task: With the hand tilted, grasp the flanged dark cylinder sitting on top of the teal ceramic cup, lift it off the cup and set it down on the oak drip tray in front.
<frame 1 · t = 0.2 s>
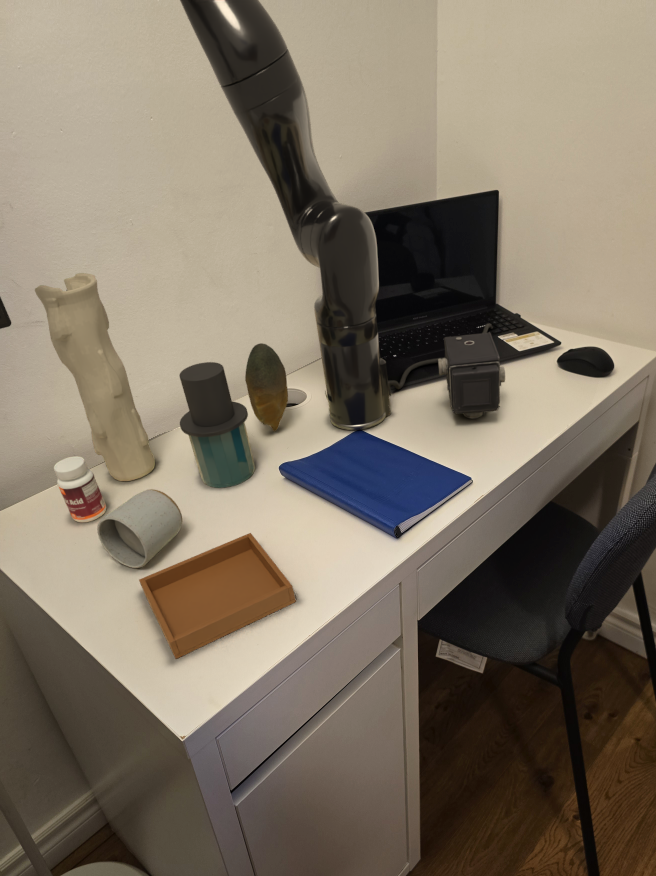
ceramic mug: (142, 549, 86), on the table
tray: (218, 598, 76), on the table
camera: (471, 409, 109), on the table
flanged dark cylinder: (216, 429, 95), point 7 cm above the table, touching cup
cup: (228, 472, 99), on the table
decorative stone: (275, 432, 108), on the table
vase: (131, 471, 103), on the table
pill bottle: (90, 514, 94), on the table
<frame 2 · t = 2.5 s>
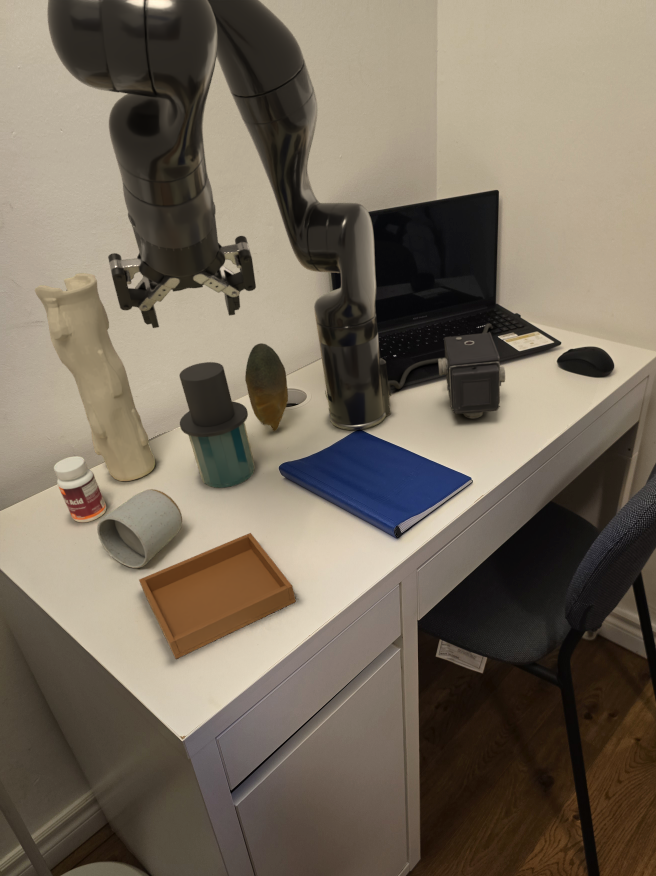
hand: (192, 314, 75), 28 cm above the table, tool tilted 40°, fingers open, 8 cm apart
nothing on the table moved.
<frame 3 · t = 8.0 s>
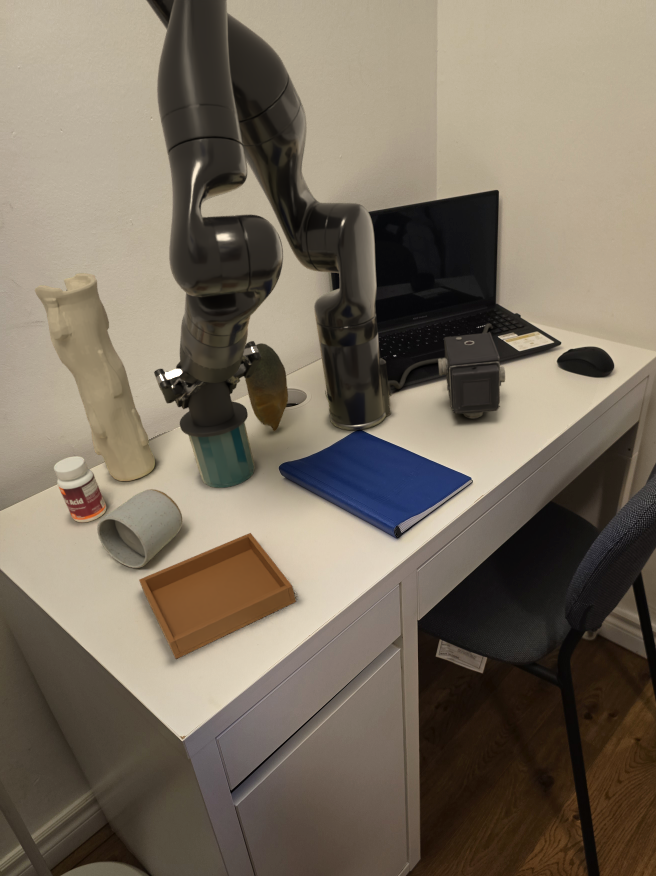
hand: (204, 395, 93), 12 cm above the table, tool tilted 45°, fingers closed on flanged dark cylinder, 6 cm apart
flanged dark cylinder: (216, 429, 95), point 8 cm above the table, touching cup, gripper
everything else where it was.
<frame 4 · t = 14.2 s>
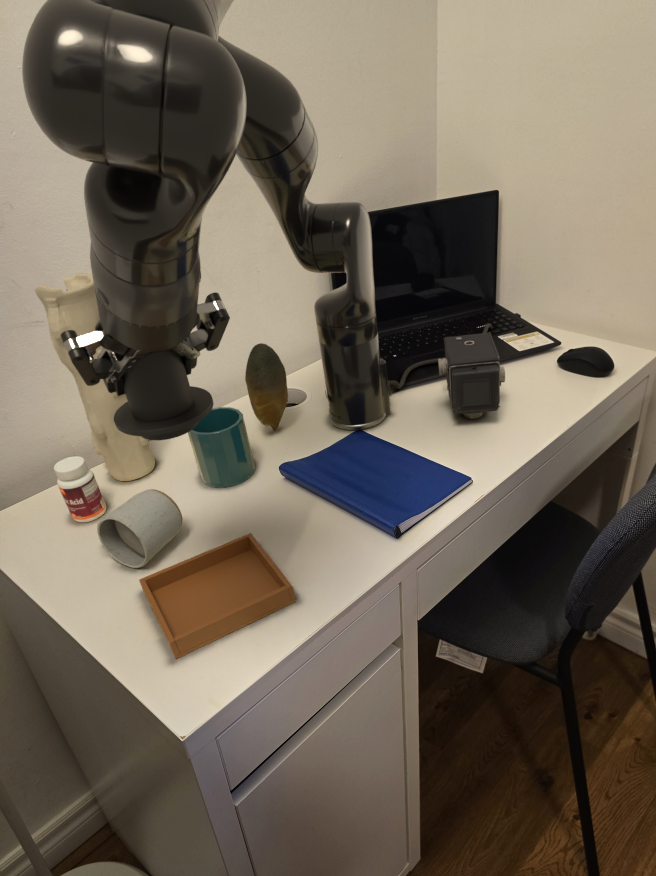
hand: (150, 376, 64), 26 cm above the table, tool tilted 45°, fingers closed on flanged dark cylinder, 6 cm apart
flanged dark cylinder: (169, 425, 66), point 22 cm above the table, touching gripper
everything else where it was.
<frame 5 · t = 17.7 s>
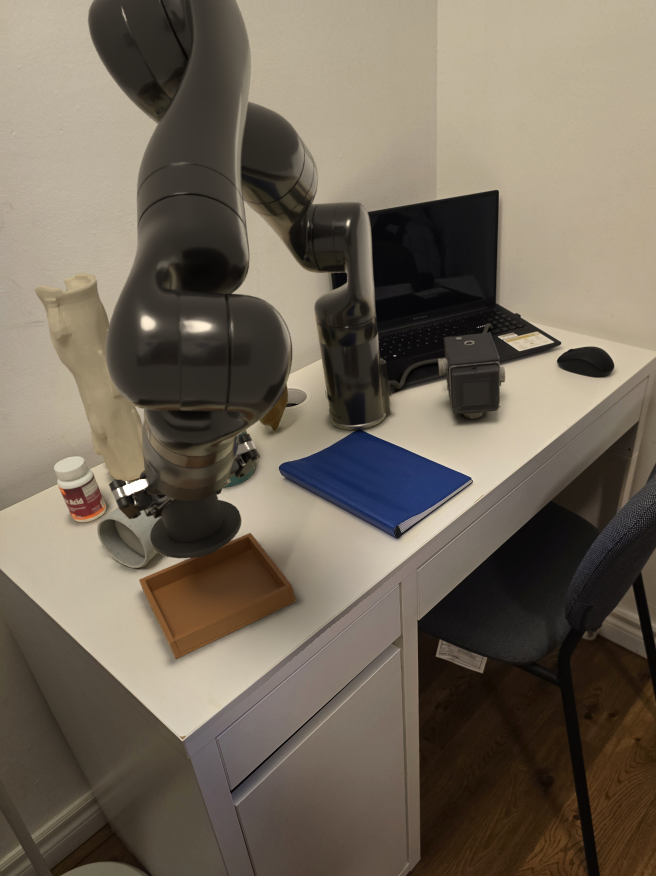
hand: (183, 497, 70), 14 cm above the table, tool tilted 45°, fingers closed on flanged dark cylinder, 6 cm apart
flanged dark cylinder: (200, 540, 71), point 9 cm above the table, touching gripper
everything else where it was.
when the fingers open (5 cm above the table, at t = 20.5 s): flanged dark cylinder stays where it is, resting on tray.
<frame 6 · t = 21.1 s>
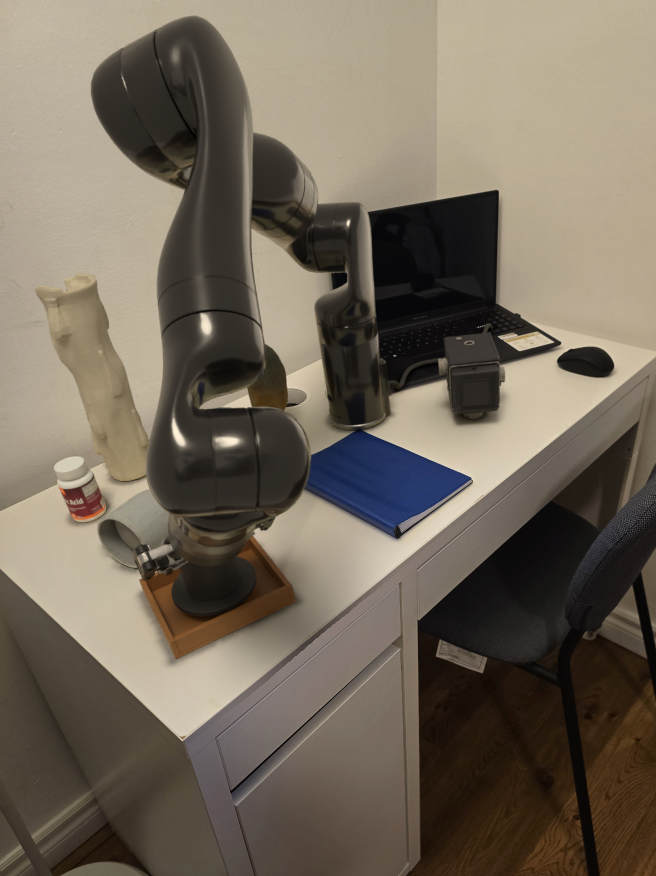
hand: (201, 551, 74), 6 cm above the table, tool tilted 45°, fingers open, 8 cm apart
flanged dark cylinder: (217, 595, 76), resting on tray
everything else where it was.
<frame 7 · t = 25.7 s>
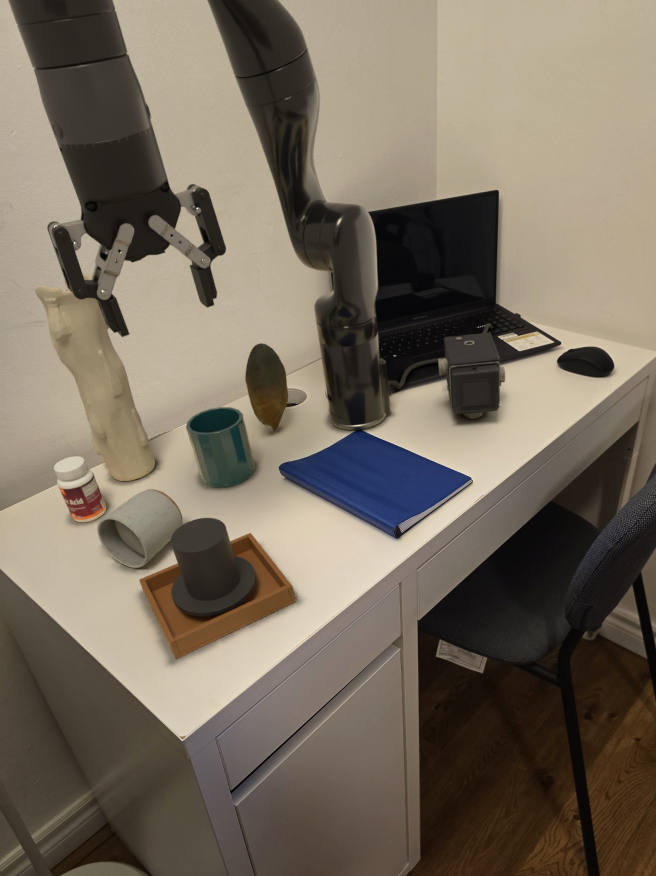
hand: (166, 318, 63), 31 cm above the table, tool pointing down, fingers open, 8 cm apart
nothing on the table moved.
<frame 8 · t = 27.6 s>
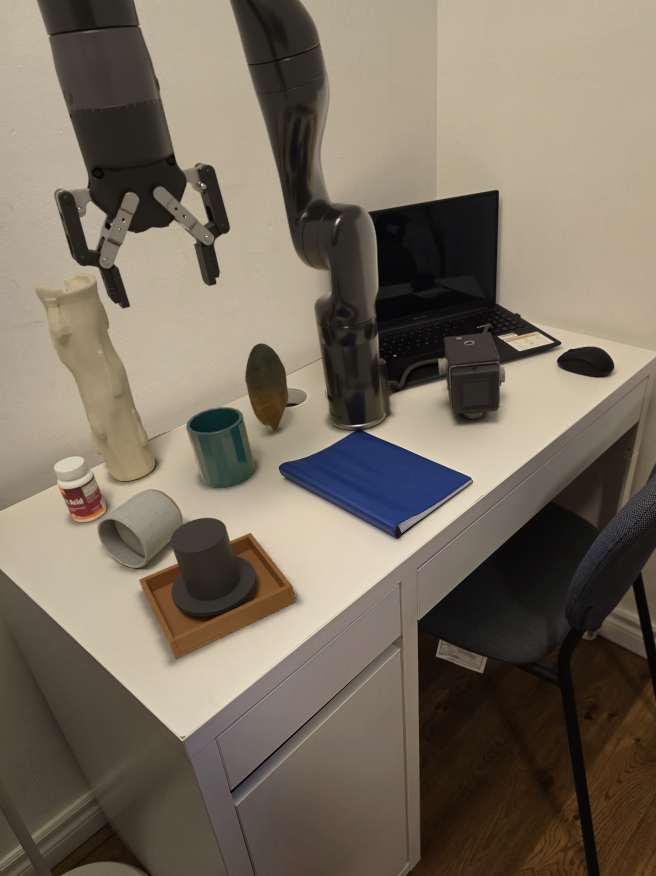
hand: (168, 294, 63), 33 cm above the table, tool pointing down, fingers open, 8 cm apart
nothing on the table moved.
at the end: flanged dark cylinder inside the target area in the tray (0.1 cm from its centre), point 0.5 cm above the tray's base; flanged dark cylinder touching tray; the gripper is holding nothing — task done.
